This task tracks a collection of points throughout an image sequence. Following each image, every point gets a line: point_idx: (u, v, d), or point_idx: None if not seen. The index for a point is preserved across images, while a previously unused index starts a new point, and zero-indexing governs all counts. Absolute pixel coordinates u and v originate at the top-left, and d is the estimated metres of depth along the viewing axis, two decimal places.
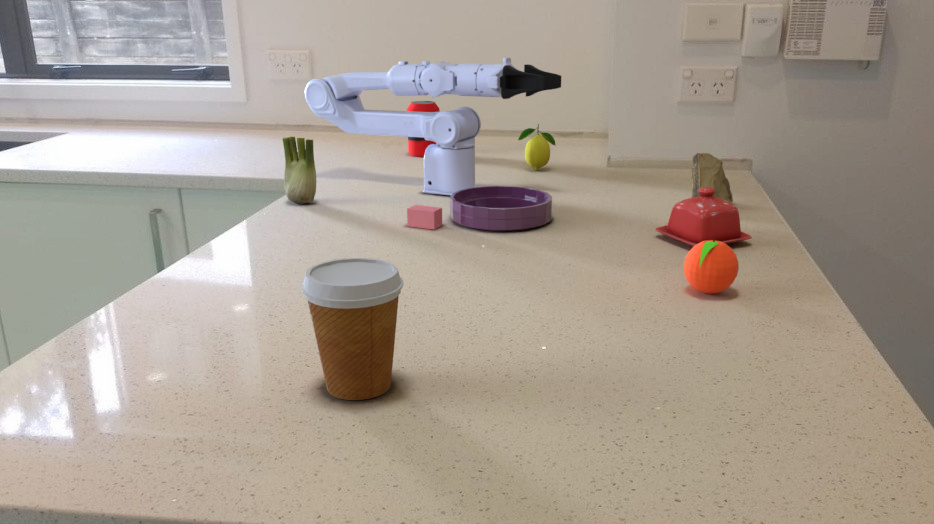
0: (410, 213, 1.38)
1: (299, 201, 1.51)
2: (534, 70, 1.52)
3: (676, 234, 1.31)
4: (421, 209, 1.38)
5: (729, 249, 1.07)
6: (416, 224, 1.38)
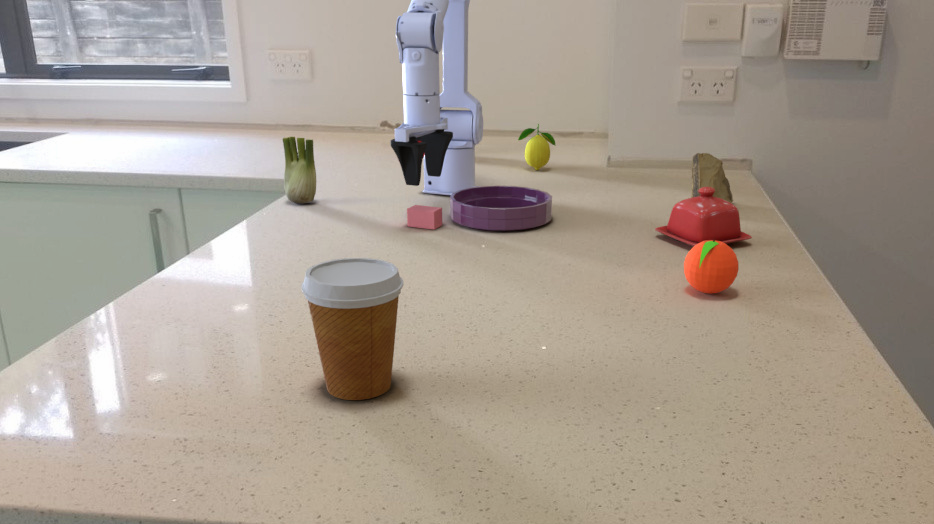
0: (410, 213, 1.38)
1: (299, 201, 1.51)
2: (443, 146, 1.37)
3: (676, 234, 1.31)
4: (421, 209, 1.38)
5: (729, 249, 1.07)
6: (416, 224, 1.38)
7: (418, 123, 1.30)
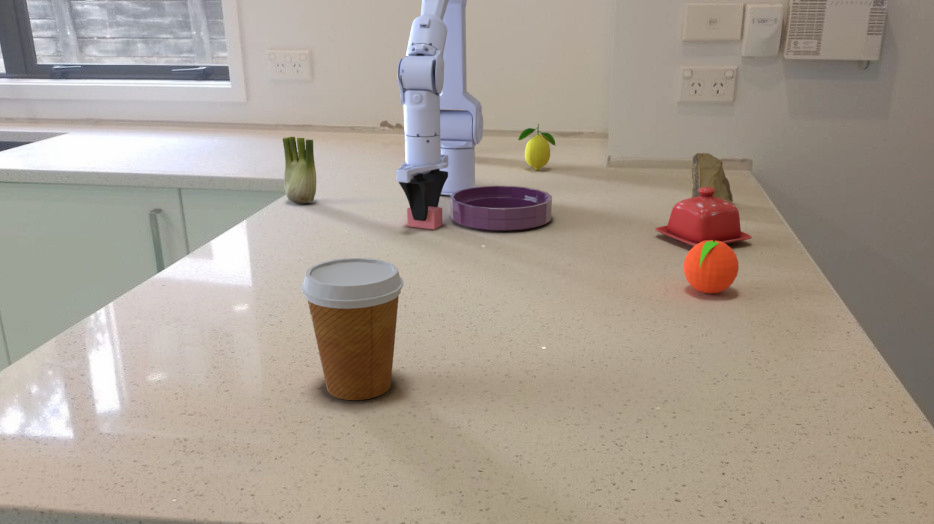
0: (410, 213, 1.38)
1: (299, 201, 1.51)
2: (438, 186, 1.38)
3: (676, 234, 1.31)
4: None
5: (729, 249, 1.07)
6: (416, 224, 1.38)
7: (419, 163, 1.33)
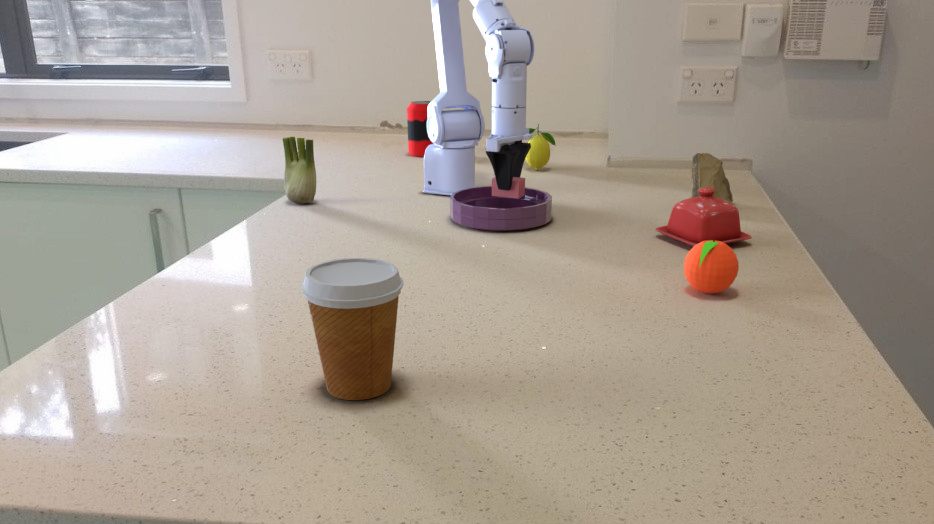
0: (495, 183, 1.43)
1: (299, 201, 1.51)
2: (521, 157, 1.43)
3: (676, 234, 1.31)
4: None
5: (729, 249, 1.07)
6: (500, 194, 1.44)
7: (506, 134, 1.38)
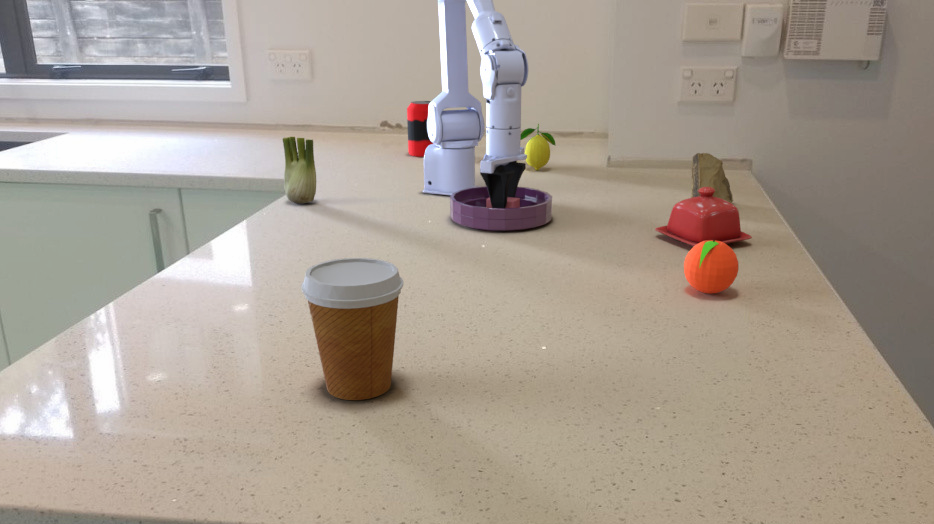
0: (489, 203, 1.43)
1: (299, 201, 1.51)
2: (516, 177, 1.42)
3: (676, 234, 1.31)
4: None
5: (729, 249, 1.07)
6: None
7: (501, 155, 1.37)
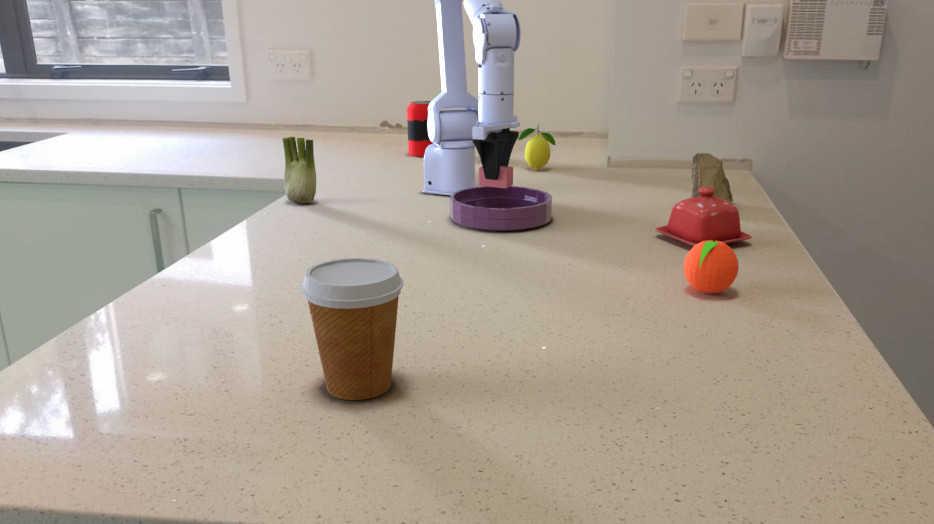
0: (482, 172, 1.40)
1: (299, 201, 1.51)
2: (509, 145, 1.39)
3: (676, 234, 1.31)
4: None
5: (729, 249, 1.07)
6: (488, 183, 1.40)
7: (493, 121, 1.34)
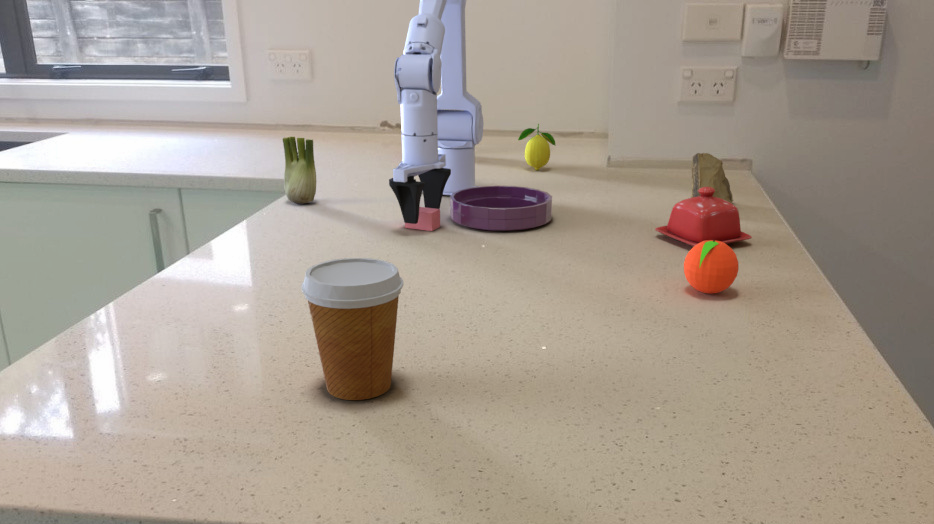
0: None
1: (299, 201, 1.51)
2: (441, 183, 1.39)
3: (676, 234, 1.31)
4: (419, 210, 1.37)
5: (729, 249, 1.07)
6: (414, 225, 1.37)
7: (416, 162, 1.32)
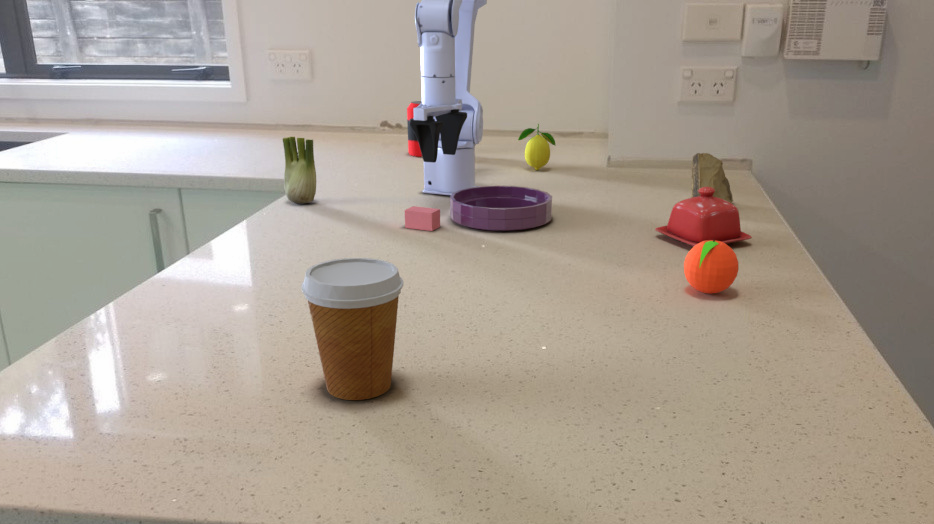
0: (408, 214, 1.37)
1: (299, 201, 1.51)
2: (458, 125, 1.46)
3: (676, 234, 1.31)
4: (419, 210, 1.37)
5: (729, 249, 1.07)
6: (414, 225, 1.37)
7: (435, 103, 1.39)
